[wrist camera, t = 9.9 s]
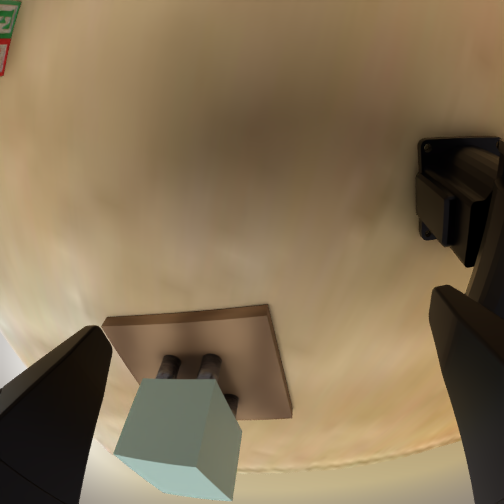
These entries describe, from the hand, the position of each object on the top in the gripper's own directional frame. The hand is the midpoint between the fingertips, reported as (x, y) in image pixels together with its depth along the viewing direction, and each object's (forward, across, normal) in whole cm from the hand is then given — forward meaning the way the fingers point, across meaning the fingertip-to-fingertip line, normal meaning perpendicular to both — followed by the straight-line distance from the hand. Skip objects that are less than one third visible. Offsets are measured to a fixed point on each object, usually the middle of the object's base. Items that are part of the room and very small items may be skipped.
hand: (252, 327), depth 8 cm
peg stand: (+12, +9, +16) cm, 22 cm away
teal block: (+8, +9, +16) cm, 20 cm away
